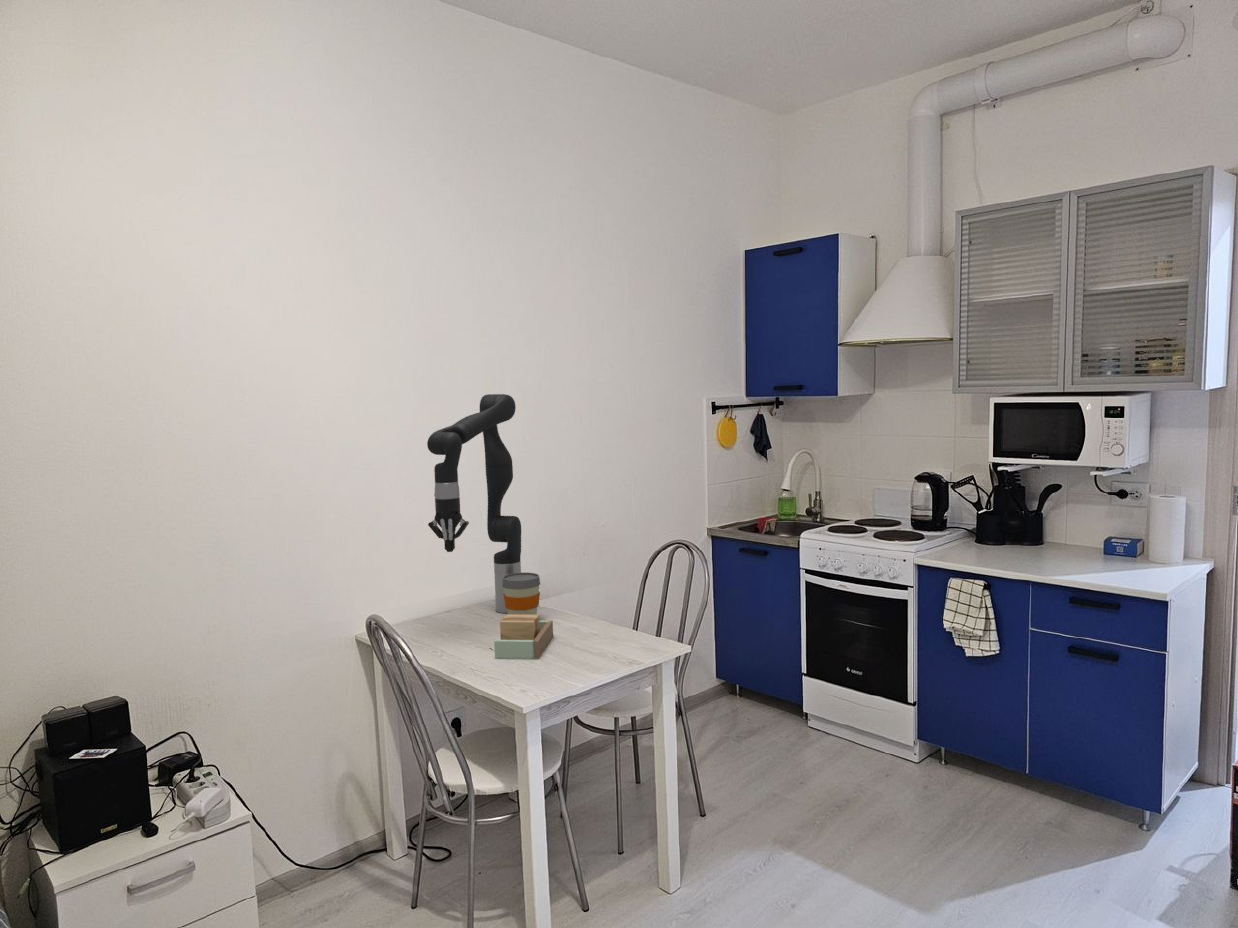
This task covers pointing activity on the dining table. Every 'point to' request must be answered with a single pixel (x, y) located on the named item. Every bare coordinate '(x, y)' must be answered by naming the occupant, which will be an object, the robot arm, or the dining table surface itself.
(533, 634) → the oak block
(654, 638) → the dining table surface
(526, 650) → the bay
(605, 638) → the dining table surface
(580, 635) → the dining table surface
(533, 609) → the reusable coffee cup
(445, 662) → the dining table surface
